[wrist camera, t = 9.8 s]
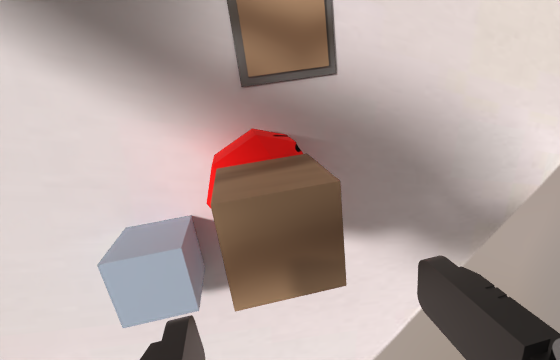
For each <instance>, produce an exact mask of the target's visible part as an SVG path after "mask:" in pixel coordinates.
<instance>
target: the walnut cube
mask: <svg viewBox="0 0 560 360" xmlns="http://www.w3.org/2000/svg"><path fill="white" fill-rule="evenodd" d="M210 205H211V209H212V214H213V218H214V222H215V227H216V231H217V235H218V240H219V244H220V248H221V253H222V257H223V261H224V266H225V270H226V275H227V279H228V283H229V288H230V292H231V296H232V301H233V305H234V309H235V311H239V310H243V309H248V308H252V307H256V306H261V305H265V304H269V303H274V302H278V301H282V300H286V299H291V298H295V297H299V296H304V295H308V294H312V293H317V292H321V291H325V290H330V289H334V288H338V287H342V286H346V269H345V253H344V236H343V220H342V203H341V186H340V180H339V179H337V178H336V177H335V176H334V175H332V174H331V173H330V172H329V171H328V170H326V169H325V168H324V167H323V166H321V165H320V164H319V163H318V162H317V161H315V160H314V159H313V158H312V157H310V156H309V155H308V154H301V155H295V156H289V157H283V158H277V159H271V160H265V161H259V162H253V163H247V164H241V165H235V166H229V167H223V168H217V169H216V175H215V181H214V187H213V193H212V199H211V204H210Z"/></svg>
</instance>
